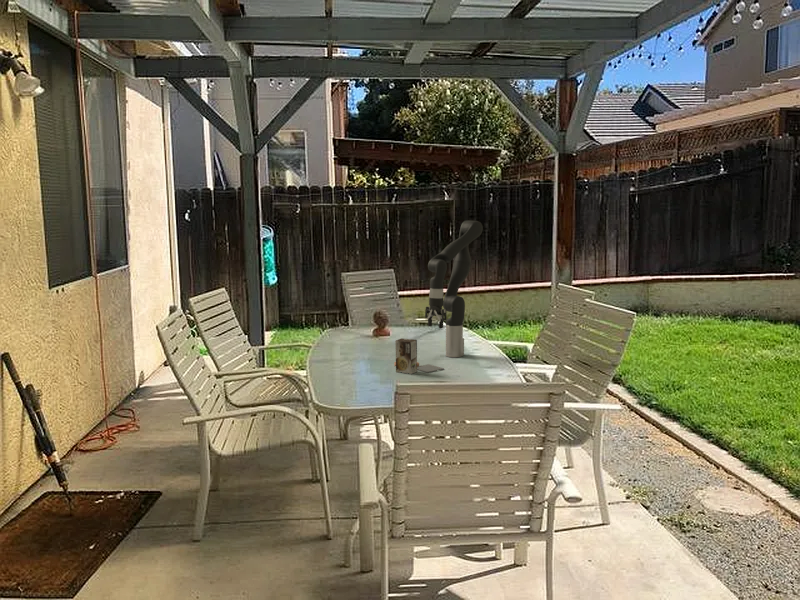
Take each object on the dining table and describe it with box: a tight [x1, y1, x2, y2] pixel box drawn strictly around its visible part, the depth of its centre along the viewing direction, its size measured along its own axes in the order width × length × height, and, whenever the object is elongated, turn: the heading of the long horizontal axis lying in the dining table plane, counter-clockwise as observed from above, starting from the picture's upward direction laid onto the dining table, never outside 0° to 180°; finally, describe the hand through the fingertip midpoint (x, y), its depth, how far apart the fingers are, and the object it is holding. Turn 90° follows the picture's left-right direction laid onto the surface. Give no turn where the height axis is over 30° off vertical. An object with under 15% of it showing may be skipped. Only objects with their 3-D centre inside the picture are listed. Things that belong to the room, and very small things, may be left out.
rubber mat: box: [417, 363, 445, 374], centre depth 346 cm, size 11×12×1 cm
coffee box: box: [394, 338, 418, 375], centre depth 340 cm, size 9×6×16 cm
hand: (435, 327), depth 365 cm, fingers open, 8 cm apart
